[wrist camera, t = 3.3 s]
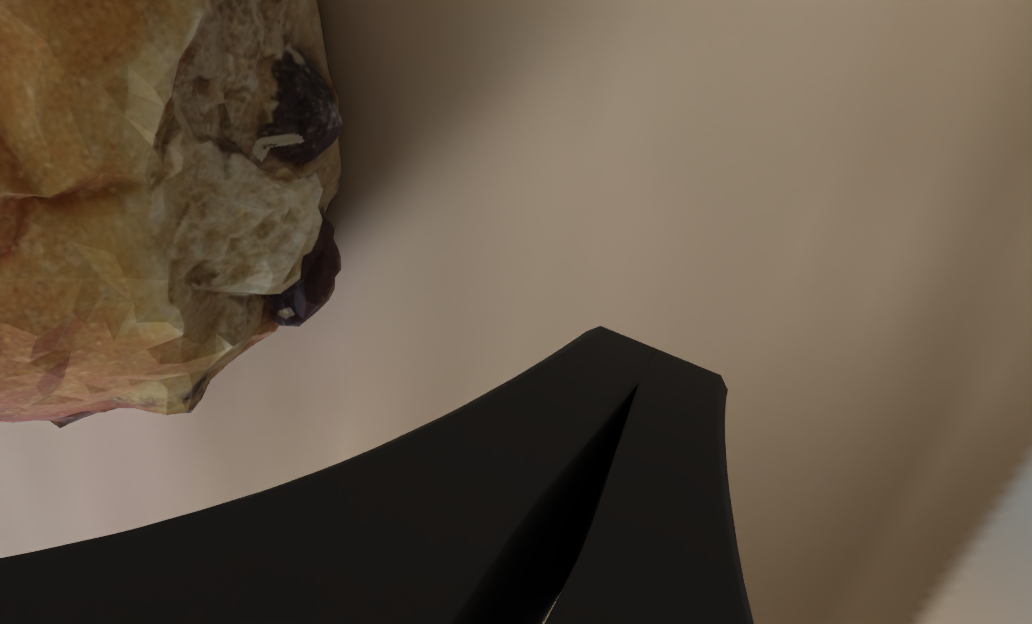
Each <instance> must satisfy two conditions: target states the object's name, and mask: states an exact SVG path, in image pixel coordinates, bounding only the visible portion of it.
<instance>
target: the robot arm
mask: <svg viewBox="0 0 1032 624" xmlns="http://www.w3.org/2000/svg"><path fill="white" fill-rule="evenodd" d="M727 391H728V390H727V388H726V385H725V383H724V381H723V379H722V377H721V375H719V374H716V373H714V372H711V371H709V370H707V369H704V368H702V367H699V366H697V365H694V364H692V363H689V362H687V361H685V360H682V359H680V358H677V357H675V356H672V355H670V354H668V353H665V352H663V351H660V350H658V349H655V348H653V347H650V346H648V345H646V344H643V343H641V342H638V341H636V340H633V339H631V338H629V337H626V336H624V335H621V334H619V333H616V332H614V331H611V330H609V329H607V328H604V327H602V326H599V327H597V328H594V329H591V330H589V331H586V332H585V333H583V334H582V335H581V336H579V337H578V338H576V339H575V340H573V341H572V342H570V343H569V344H567V345H566V346H564V347H563V348H561V349H560V350H558V351H557V352H555V353H554V354H552V355H550V356H549V357H547V358H546V359H544V360H543V361H541V362H539V363H538V364H536V365H534V366H533V367H531V368H529V369H528V370H526V371H524V372H523V373H521V374H519V375H518V376H516V377H514V378H513V379H511V380H509V381H507V382H505V383H504V384H502V385H500V386H498V387H496V388H495V389H493V390H491V391H489V392H487V393H486V394H484V395H482V396H480V397H478V398H476V399H475V400H473V401H471V402H469V403H467V404H466V405H464V406H462V407H460V408H458V409H456V410H454V411H452V412H450V413H448V414H446V415H444V416H442V417H440V418H438V419H436V420H434V421H432V422H430V423H427V424H425V425H423V426H421V427H419V428H417V429H415V430H413V431H410V432H408V433H406V434H404V435H402V436H400V437H398V438H396V439H393V440H391V441H389V442H387V443H385V444H383V445H381V446H378V447H376V448H374V449H372V450H369V451H367V452H364V453H362V454H360V455H357V456H355V457H352V458H350V459H348V460H345V461H343V462H340V463H338V464H335V465H333V466H330V467H328V468H325V469H322V470H320V471H317V472H314V473H312V474H309V475H306V476H303V477H301V478H298V479H295V480H292V481H290V482H287V483H284V484H281V485H279V486H276V487H273V488H270V489H267V490H264V491H261V492H258V493H255V494H252V495H248V496H245V497H242V498H239V499H235V500H232V501H229V502H226V503H222V504H219V505H216V506H213V507H210V508H206V509H203V510H200V511H196V512H193V513H189V514H186V515H182V516H179V517H175V518H172V519H168V520H164V521H161V522H157V523H154V524H150V525H147V526H143V527H140V528H136V529H132V530H128V531H124V532H120V533H116V534H112V535H107V536H103V537H98V538H94V539H89V540H85V541H80V542H76V543H71V544H67V545H62V546H57V547H53V548H48V549H44V550H39V551H35V552H30V553H25V554H20V555H15V556H10V557H5V558H0V624H542V622H543V621H544V619H545V617H546V616H547V614H548V612H549V611H550V609H551V607H552V606H553V604H554V602H555V601H556V599H557V597H558V596H559V597H558V599H557V601H556V603H555V605H554V607H553V609H552V611H551V612H550V614H549V616H548V618H547V620H546V622H545V624H754V623H753V619H752V614H751V610H750V605H749V601H748V597H747V592H746V588H745V583H744V578H743V573H742V568H741V563H740V557H739V552H738V547H737V540H736V533H735V526H734V520H733V513H732V506H731V499H730V493H729V483H728V474H727V461H726V446H725V406H726V396H727ZM560 592H561V593H560ZM559 594H560V595H559Z"/></svg>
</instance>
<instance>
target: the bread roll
mask: <svg viewBox="0 0 1032 624" xmlns="http://www.w3.org/2000/svg"><path fill="white" fill-rule="evenodd" d="M342 125H343V121H342V118H341V116H340V113H339V97H338V95H337V92H336V90H335V87H334V85H333V82H332V80H331V77H330V75H329V70H328V64H327V58H326V52H325V46H324V40H323V34H322V28H321V22H320V16H319V11H318V6H317V2H316V0H0V422H21V421H32V420H46V421H51V422H52V423H54V424H55V425H57V426H58V427H59V428H61V427H63V426H65V425H67V424H69V423H71V422H74V421H76V420H79V419H81V418H84V417H87V416H89V415H92V414H95V413H97V412H106V411H109V410H112V409H116V408H137V409H141V410H145V411H149V412H155V413H160V414H165V415H170V414H177V413H191V412H192V410H193V409H194V408H195V407H196V405H197V404H198V403H199V401H200V400H201V399H202V397H203V395H204V393H205V390H206V388H207V386H208V384H209V382H210V380H211V379H212V378H213V377H214V376H215V375H216V374H218V373H219V372H220V371H221V370H222V369H223V368H224V367H225V366H226V365H227V364H228V363H230V362H231V361H232V360H233V359H235V358H236V357H237V356H239V355H240V354H241V353H243V352H244V351H246V350H247V349H248V348H250V347H251V346H253V345H254V344H255V343H257V342H259V341H260V340H262V339H264V338H265V337H267V336H269V335H270V334H272V333H274V332H275V331H276V330H277V328H278V326H279V325H281V326H300V325H301V324H303V323H304V322H305V321H306V320H307V319H309V318H310V317H311V316H312V315H313V314H315V313H316V312H317V311H318V310H319V309H320V308H321V307H322V306H323V305H324V304H325V303H326V302H327V301H328V300H329V299H330V297H331V295H332V293H333V291H334V285H335V276H336V275H337V274H338V273H339V271H340V270H341V257H340V254H339V250H338V248H337V245H336V243H335V241H334V239H333V237H334V228H333V226H332V225H331V223H330V222H329V221H328V219H327V218H326V216H325V212H326V210H327V207H328V204H329V202H330V201H331V200H332V198H333V197H334V196H335V194H336V193H337V192H338V190H339V182H340V175H341V159H340V149H339V140H338V136H339V135H340V132H341V129H342Z"/></svg>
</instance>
